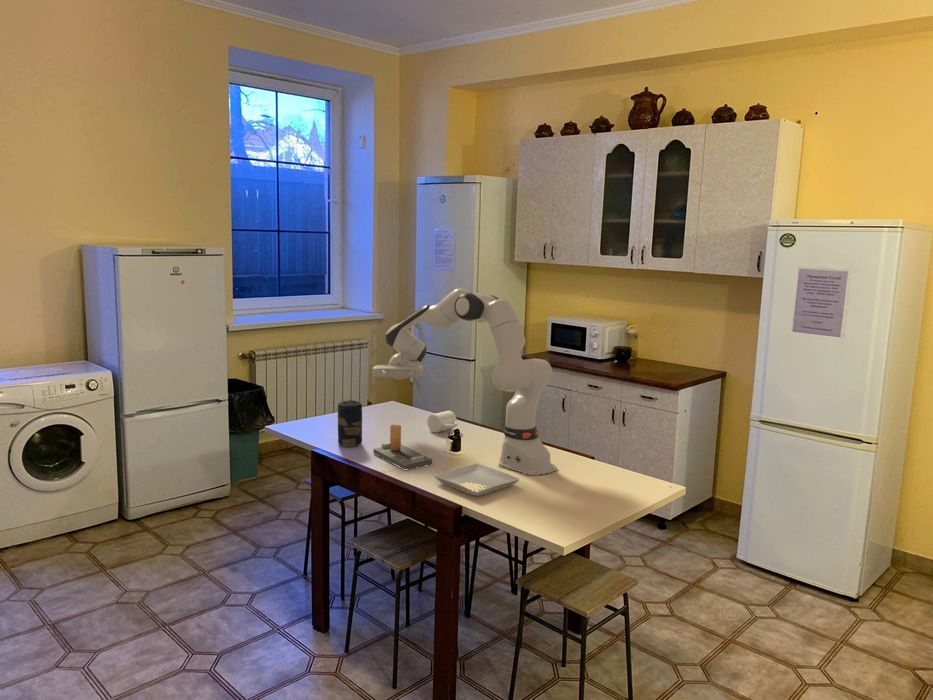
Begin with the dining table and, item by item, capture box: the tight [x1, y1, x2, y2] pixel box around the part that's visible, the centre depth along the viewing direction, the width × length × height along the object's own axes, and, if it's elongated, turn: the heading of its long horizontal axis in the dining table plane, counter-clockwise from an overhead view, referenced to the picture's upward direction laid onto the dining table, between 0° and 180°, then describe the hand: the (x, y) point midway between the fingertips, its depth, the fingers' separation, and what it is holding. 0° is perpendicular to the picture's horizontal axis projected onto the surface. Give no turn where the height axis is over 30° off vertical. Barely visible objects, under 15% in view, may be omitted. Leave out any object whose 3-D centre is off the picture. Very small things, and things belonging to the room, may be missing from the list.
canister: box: [337, 399, 363, 447], centre depth 280 cm, size 10×10×18 cm
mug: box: [427, 410, 459, 434], centre depth 303 cm, size 12×10×8 cm
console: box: [373, 441, 433, 470], centre depth 266 cm, size 22×12×4 cm, turn 38°
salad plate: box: [434, 463, 520, 497], centre depth 242 cm, size 21×21×3 cm
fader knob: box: [389, 424, 402, 451], centre depth 269 cm, size 4×4×9 cm
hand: (397, 374), depth 277 cm, fingers open, 8 cm apart
